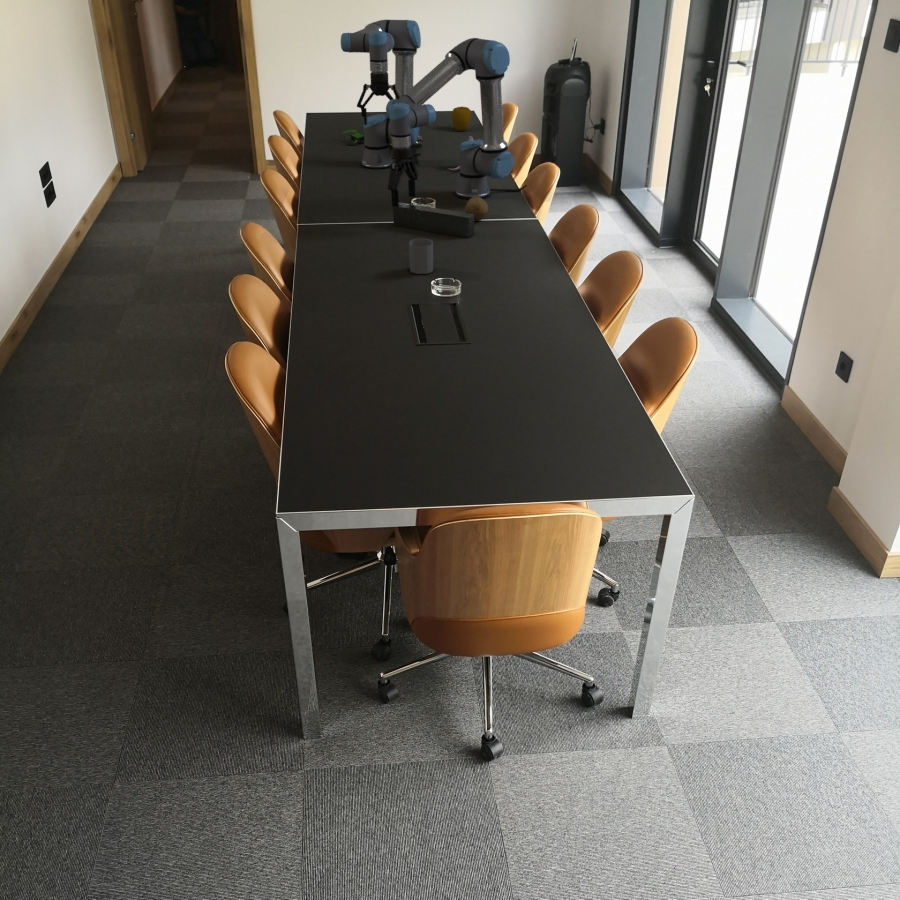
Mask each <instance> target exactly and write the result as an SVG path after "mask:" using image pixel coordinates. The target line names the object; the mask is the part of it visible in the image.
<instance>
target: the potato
mask: <svg viewBox="0 0 900 900" xmlns="http://www.w3.org/2000/svg"><path fill="white" fill-rule="evenodd" d="M488 211H489V205H488V203H487V201H485V199H484V198H479V197H473V198H471V199H468V201H467V202H466V204H465V207H464V213H470V214H474V221H475V220H482V219H483V218H484V217H486V216H487V214H488Z"/></svg>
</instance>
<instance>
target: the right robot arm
mask: <svg viewBox="0 0 900 900" xmlns="http://www.w3.org/2000/svg"><path fill="white" fill-rule="evenodd" d="M510 62H511V55H510V51H509V49H508V48H507V46H506V45H505V44H504V43H503V42H500V41H497V40H493V39H484V38H478V37H471V38H468V39H465V40H463V41H461V42H460V43H458V44H457V45H455V46H454V47H452V49H450V50H449V51H448V52H446V54H445V55H444V59H443V60H442V61H441V62H439V63H438V64H437V65H436V66H434V68H433V69H431V70H430V71H429V72H428V73H427V74H426V75H424V76H423V77H422V78H421V79H420V80H419V81H418V82H417V83H415V84H413V87H412V88H411V89H410V90H409V91H408V92H406V93H405V94H404V95H403V96H402V97H401V98H399V99H395V98H394V99H392V100H388V101H387V103H386V106H385V112H386V115H387V116H388V118H390V127H391V142H392V144H391V158H394V159H393V160H394V162H393V163H391V167H390V171H389V176H388V177H389V178H388V183H387V190H388V191H390V192H391V193H390V194H391V207H393V206H394V207H399V203H400V197H399V189H398V187H399V184H400V181H401V177H402V175H403V174H404V172H405V174H406V176H407V178H408V181H407V185H408V197H412V198H416V194H417V193H416V181H418V177H419V174H418V171H417V167H416V164H415V161H414V156H411V154H412V147H411V146H412V145H411V129H412V128H417V127H420V128H421V127H427V126H429V125H432V124H434V123H435V121H436V119H437V112H436V109H435V107H434V106H433V105H432V104H430V103H426V102H427V101H428V100H430V99H431V98H432V97H433V96H434V95H436V94H437V92H439V91H440V90H441V89H442V88H443V87H444V86H446V85H447V84H448V83H449V82H450V81H451V80H453V78H454V77H456V76H457V75H458V76H460V75H462V74H463V73H464V72H467V71H469V70H472V71H474V73H475V74H474V75H475V80H477V81H478V82H479V92H480V93H479V94H480V108H481V109H480V110H481V125H482V139H480V140H479V139H473V140H471V141H468V140H465V141H462V142H461V143H460V146H459V166H460V169H459V178H458V181H457V185H456V188H455V196H456V197H457V198H460V199H465V200H470V199H471V198H473V197H479V198H482V199H486V198H488V197H490V195H491V192H520V191H522V190H524V189H525V188H527V187H528V185H527V184H524V185H523V186H522V187H520V188H510V189H509V188H490V186H489V183H488V179H487V177H490V178H491V179H497V180H503V179H506V178H507V177H508V176H509V175H510V174H511V172H512V170H513V168H514V165H515V158H514V155H513V154H512V152H510V151H509V145H508V142H507V141H505V136H504V117H503V116H504V115H503V95H502V94H503V92H502V80H503V78H505V73H506V72H507V70H508V69H509V66H510Z"/></svg>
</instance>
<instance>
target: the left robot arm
mask: <svg viewBox="0 0 900 900" xmlns="http://www.w3.org/2000/svg"><path fill="white" fill-rule="evenodd" d="M421 43H422V38H421V29H420V27H419V24H418V22H417V21H416V20H412V19H380V20H377V21H373V22H370V23H368V24H366V25H365V26H364V28H362V29H360V30H357V31H355V32H343V33H342V34H341V35H340V49H341V50H342V52H344V53H365V54H369V55H368V56H369V71H370V74H369V75H370V77H369V78H370V84H367V83H364V84H363V85H362V86H363V87H362V92H361V94H360V97H359V99H358V101H357V103H356V108H359V109H360V112H361V113H360V114H361V117H362V118H363V134H364V141H363V142H364V151H363V155H362V159H361V166H362V167H363V168H366V169H371V170H381V169H387V168H391V163H394V161H393V160H395V159H394V158H393V157H392V153H391V152H390V151H391V150H390V147H389V145H392V142H391V127H390V117H389V116H388V115H387V113H386V114H385V113H378V114H373V115H370V116H369V115H367V113H368V112H367V107H366V106H367V105H368V104H369V102H370V101H371V99H372V98H373V97H374V96H375V97H379V96H380V97H384V96H385V97H386V98H387V99H388V101H390V100H392V99H399V98H401V97H402V96H403V95H404V94H405V93H406V92H408V91H409V90H410V89H411V88H412V87H413V86H414V63H415V62H414V61H415V59H414V57H415V55H417V53H418V49H420V48H421V46H422V45H421ZM390 52H392V54H393V55H394V64H395V65H394V66H395V67H394V75H395V76H394V84H389V73H388V71H389V59H388V53H390ZM369 89H370V90H371V93H370V94H369V95H368V97H367V98H366V100H365V101H364V97H365V96H366V93H367V91H368V90H369ZM389 90H391V91H392V92H393V94H394V97H393V96H392V94H391V93H390V91H389ZM363 101H364V102H363ZM362 102H363V103H362ZM420 129H421V127H417V128H412V129H411V146H412V145H415V144H416V143H417V141H418V138H419V134H420ZM420 155H421V153H420V152H418V153H411V156H413V157H415V156H420Z"/></svg>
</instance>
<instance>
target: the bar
mask: <svg viewBox="0 0 900 900" xmlns="http://www.w3.org/2000/svg"><path fill="white" fill-rule="evenodd" d="M392 216H393V217H392V218H393V219H392V220H393V227H394V226H395V227H401V228H405V229H406V228H407V229H414V230H419V231H425V232H431V233H437V234H443V235H449V236H455V237H461V238H468V239H469V238H470V237H472V236H474V234H475V229H474V228H475V219H474V214H470V213H465V212H464V211H463V212H462V211H455V210H449V209H443V208H438V207H437V208H436V207H430V206H426V205H425V206H424V205H419V204H410V203H406V202H405V203H404V202H399V207H394V206H392Z"/></svg>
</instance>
